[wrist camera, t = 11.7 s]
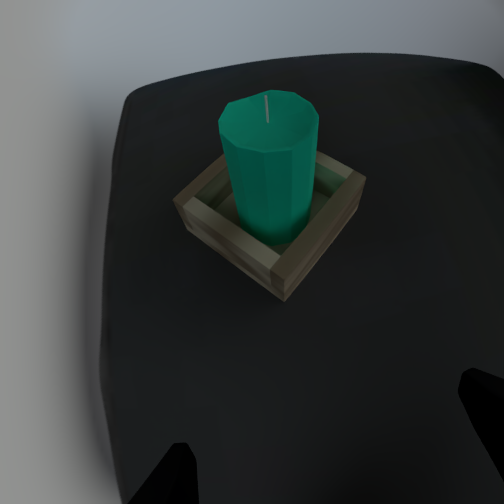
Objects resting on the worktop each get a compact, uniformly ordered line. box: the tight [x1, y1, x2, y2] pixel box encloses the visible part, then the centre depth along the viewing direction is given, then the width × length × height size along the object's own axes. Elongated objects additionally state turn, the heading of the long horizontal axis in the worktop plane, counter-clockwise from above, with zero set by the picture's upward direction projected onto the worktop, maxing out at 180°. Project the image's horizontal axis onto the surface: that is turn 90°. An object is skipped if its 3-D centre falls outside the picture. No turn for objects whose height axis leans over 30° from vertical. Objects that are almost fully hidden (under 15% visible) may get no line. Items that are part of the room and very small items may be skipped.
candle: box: [218, 90, 319, 246], centre depth 21 cm, size 6×6×12 cm
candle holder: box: [173, 150, 366, 302], centre depth 26 cm, size 11×11×4 cm
